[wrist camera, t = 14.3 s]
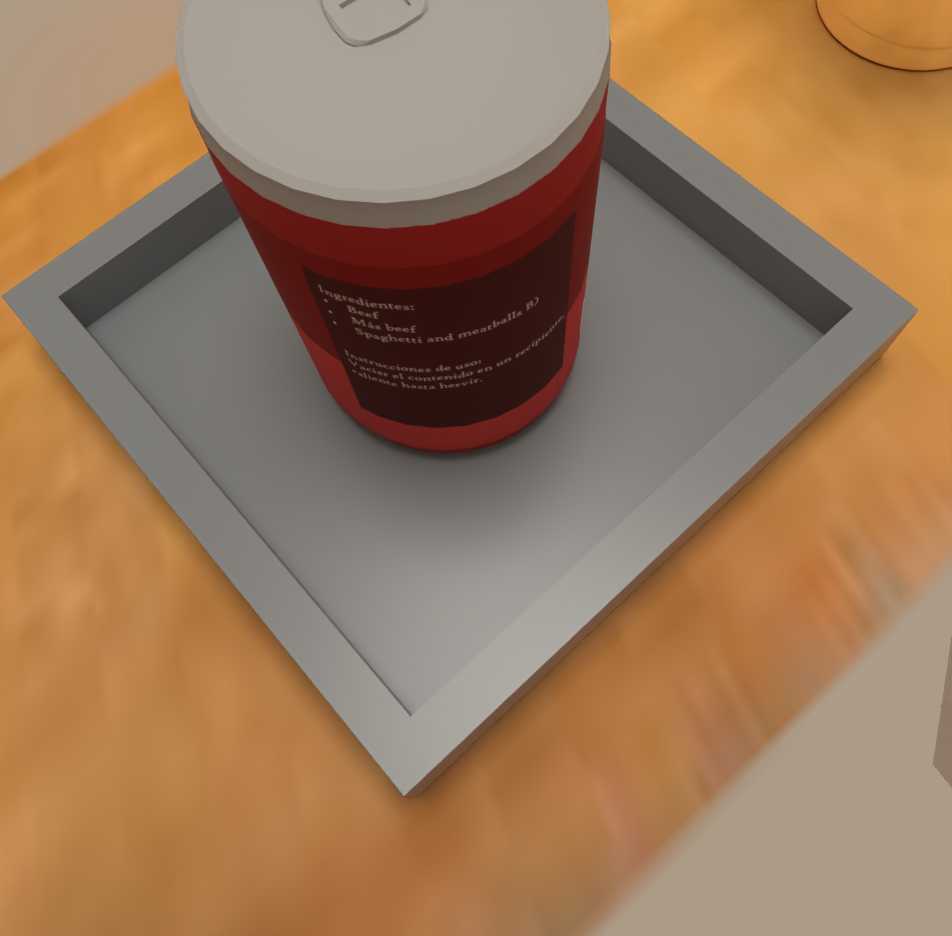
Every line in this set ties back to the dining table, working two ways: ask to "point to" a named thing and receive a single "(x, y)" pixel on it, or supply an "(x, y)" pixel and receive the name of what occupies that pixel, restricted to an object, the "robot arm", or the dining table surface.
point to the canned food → (414, 192)
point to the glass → (893, 30)
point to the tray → (472, 472)
